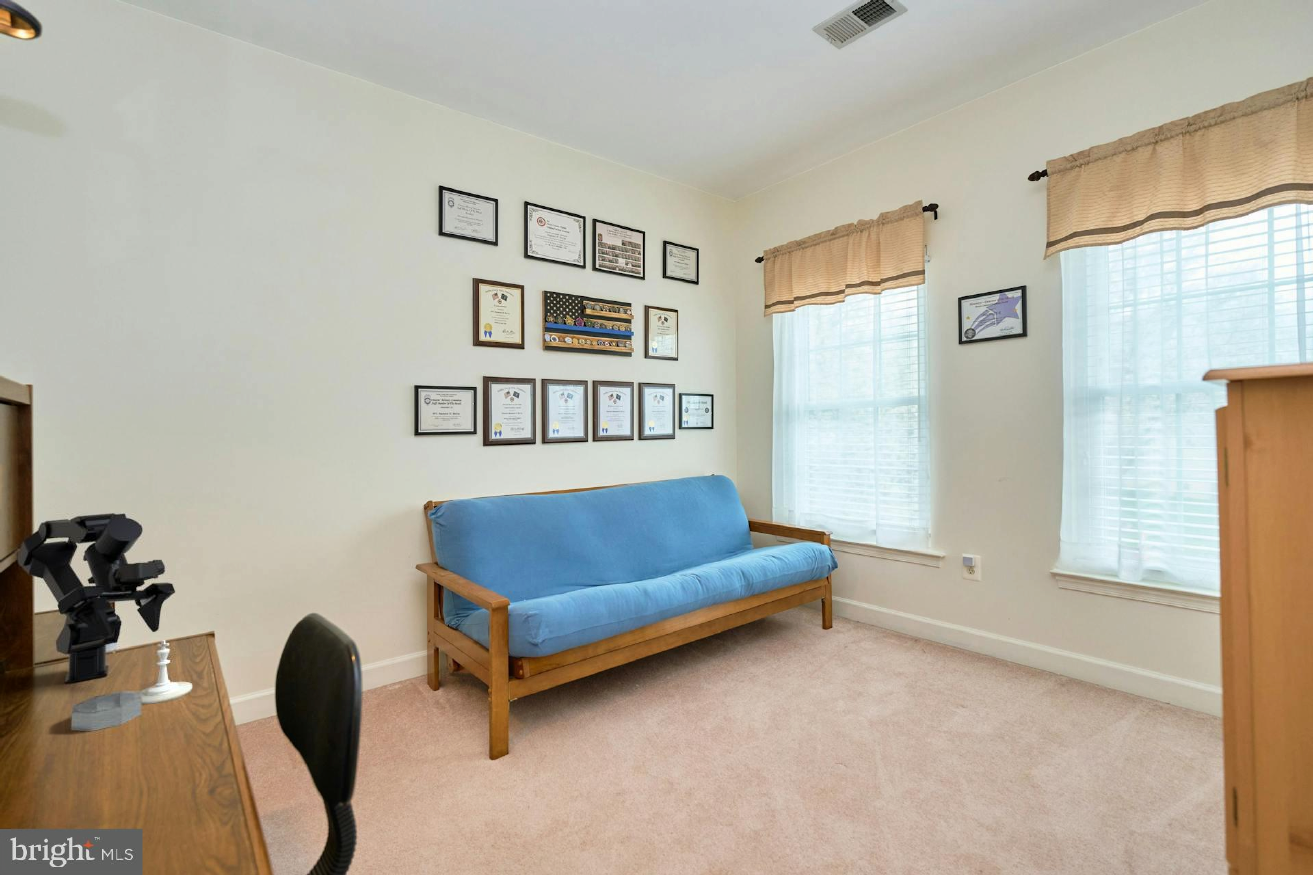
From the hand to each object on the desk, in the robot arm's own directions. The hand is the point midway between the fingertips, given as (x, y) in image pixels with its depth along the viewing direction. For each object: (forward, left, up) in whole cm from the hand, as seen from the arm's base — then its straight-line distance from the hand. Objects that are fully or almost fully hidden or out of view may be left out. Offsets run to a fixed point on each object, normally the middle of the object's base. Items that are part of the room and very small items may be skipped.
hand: (133, 633), depth 120 cm
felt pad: (+5, +5, -12) cm, 14 cm away
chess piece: (+5, +5, -11) cm, 13 cm away
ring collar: (+12, -3, -12) cm, 17 cm away
